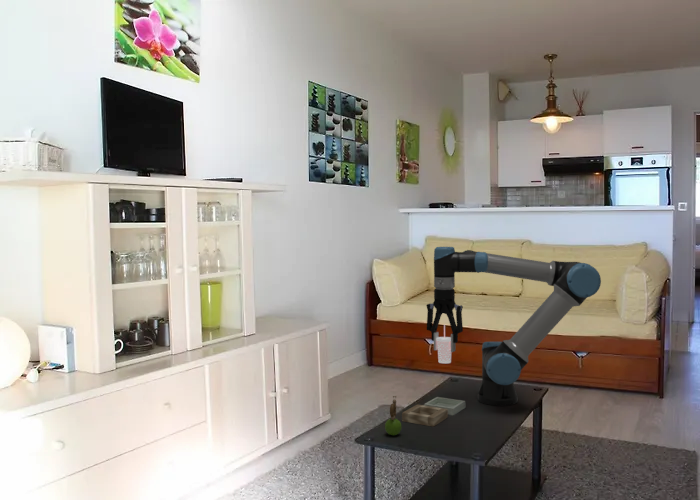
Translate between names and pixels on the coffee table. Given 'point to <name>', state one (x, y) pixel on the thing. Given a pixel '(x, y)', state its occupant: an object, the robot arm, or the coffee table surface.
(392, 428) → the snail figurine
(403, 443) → the coffee table surface
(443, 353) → the beverage cup
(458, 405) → the tray
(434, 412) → the socket holder
